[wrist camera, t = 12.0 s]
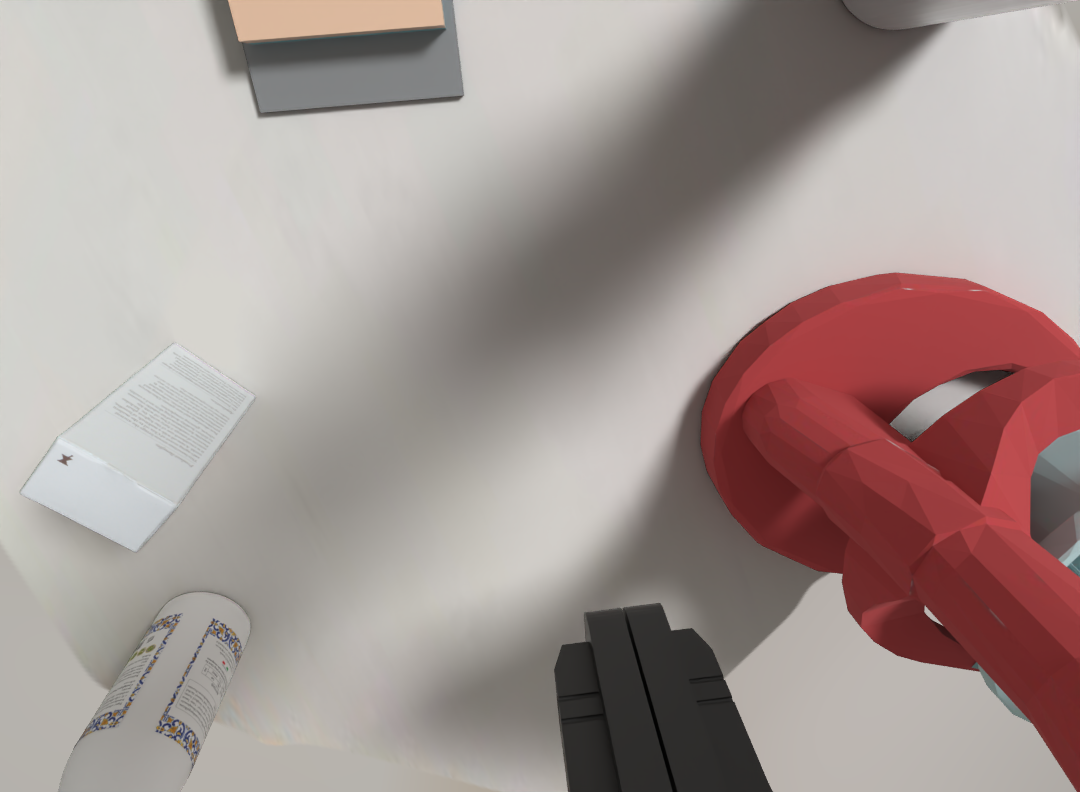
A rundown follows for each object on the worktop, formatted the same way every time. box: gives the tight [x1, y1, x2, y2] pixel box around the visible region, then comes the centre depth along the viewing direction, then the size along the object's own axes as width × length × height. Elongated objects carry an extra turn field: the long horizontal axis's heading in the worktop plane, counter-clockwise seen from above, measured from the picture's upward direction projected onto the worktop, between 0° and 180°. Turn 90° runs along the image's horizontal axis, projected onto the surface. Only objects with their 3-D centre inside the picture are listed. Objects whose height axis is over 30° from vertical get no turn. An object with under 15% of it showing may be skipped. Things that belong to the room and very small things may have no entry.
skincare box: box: [20, 343, 256, 552], centre depth 34 cm, size 6×4×12 cm
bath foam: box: [59, 592, 251, 792], centre depth 39 cm, size 7×7×20 cm
